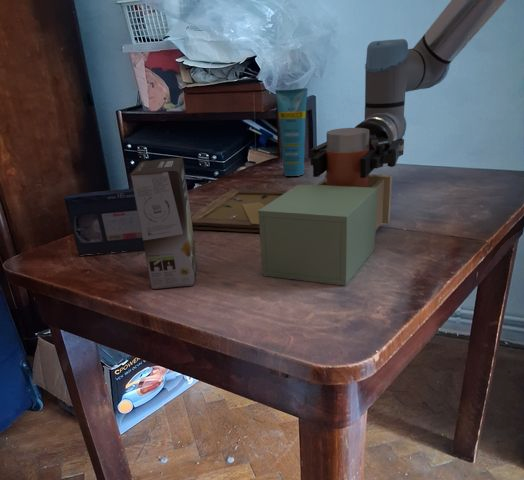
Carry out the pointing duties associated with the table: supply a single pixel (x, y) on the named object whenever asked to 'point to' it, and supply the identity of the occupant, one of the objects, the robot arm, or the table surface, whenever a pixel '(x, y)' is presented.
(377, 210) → the drawer
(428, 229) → the table surface
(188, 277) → the coffee box
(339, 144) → the tin can
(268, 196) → the picture frame
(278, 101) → the tube
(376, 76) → the robot arm
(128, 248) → the vhs cassette tape
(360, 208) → the cabinet
